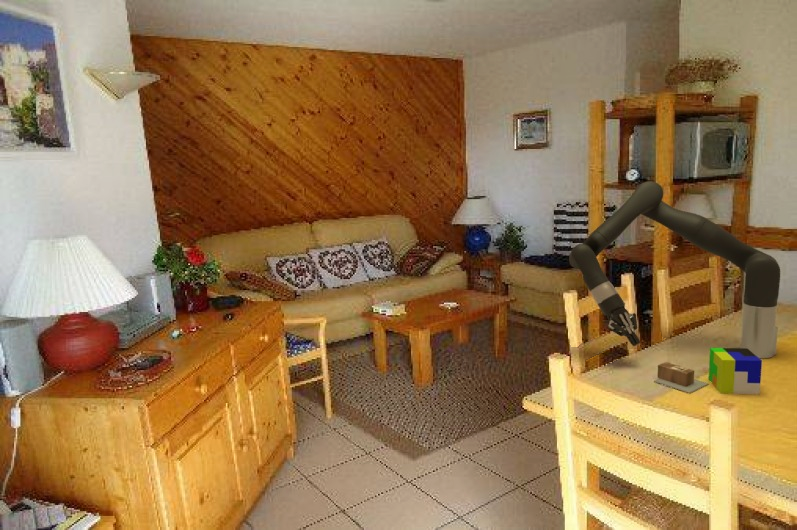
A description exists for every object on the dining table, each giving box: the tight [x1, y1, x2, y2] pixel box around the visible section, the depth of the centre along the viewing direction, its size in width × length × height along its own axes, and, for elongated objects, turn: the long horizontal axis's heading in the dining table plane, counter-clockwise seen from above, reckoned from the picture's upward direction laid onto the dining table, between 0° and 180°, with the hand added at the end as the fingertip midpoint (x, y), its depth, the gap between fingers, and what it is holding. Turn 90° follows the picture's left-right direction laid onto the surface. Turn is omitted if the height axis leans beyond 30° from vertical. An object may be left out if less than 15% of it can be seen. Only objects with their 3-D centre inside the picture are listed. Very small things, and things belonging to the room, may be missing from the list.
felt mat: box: [653, 378, 710, 394], centre depth 166 cm, size 10×11×1 cm
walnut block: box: [657, 361, 695, 387], centre depth 167 cm, size 4×4×9 cm
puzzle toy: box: [708, 347, 763, 395], centre depth 161 cm, size 10×10×10 cm
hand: (636, 344), depth 179 cm, fingers closed
